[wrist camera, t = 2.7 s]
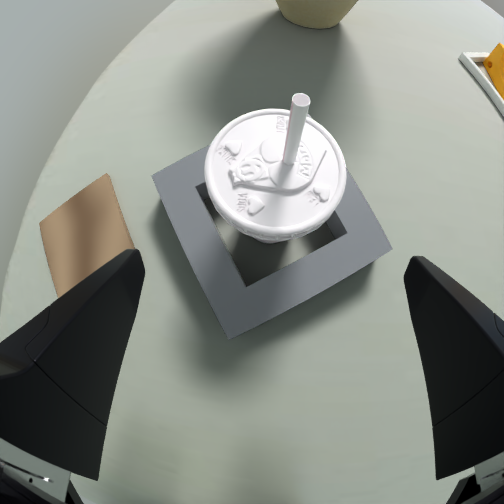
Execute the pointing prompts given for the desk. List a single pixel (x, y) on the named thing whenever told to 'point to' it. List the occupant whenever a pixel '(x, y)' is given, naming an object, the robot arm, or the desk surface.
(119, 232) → the pad
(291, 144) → the smoothie
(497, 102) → the tray
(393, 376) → the desk surface
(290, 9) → the plant pot
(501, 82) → the pipe clamp
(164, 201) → the dock
